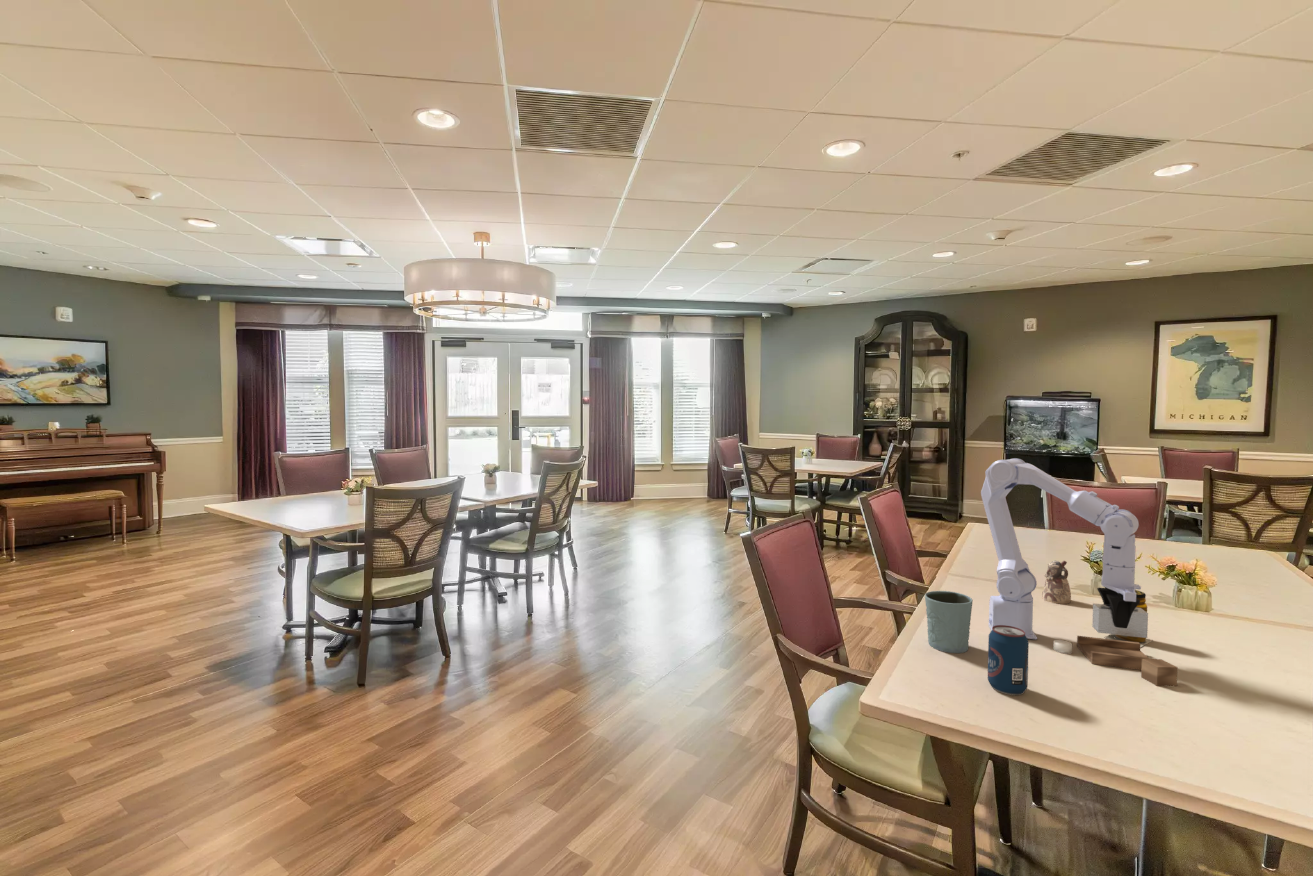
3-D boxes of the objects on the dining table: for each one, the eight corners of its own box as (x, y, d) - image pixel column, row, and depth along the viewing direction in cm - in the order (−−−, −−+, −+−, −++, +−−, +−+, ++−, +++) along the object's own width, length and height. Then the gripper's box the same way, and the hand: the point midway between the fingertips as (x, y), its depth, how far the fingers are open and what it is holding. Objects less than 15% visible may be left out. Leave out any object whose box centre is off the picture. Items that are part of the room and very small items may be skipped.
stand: (1092, 663, 131) (1092, 652, 131) (1077, 645, 141) (1077, 635, 141) (1159, 672, 127) (1159, 660, 127) (1138, 653, 137) (1138, 642, 137)
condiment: (1152, 641, 145) (1154, 592, 144) (1140, 648, 140) (1141, 598, 140) (1117, 632, 151) (1118, 585, 150) (1103, 638, 146) (1105, 590, 146)
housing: (1147, 638, 130) (1148, 612, 130) (1098, 632, 134) (1099, 607, 133) (1139, 631, 134) (1140, 606, 134) (1092, 626, 137) (1093, 602, 137)
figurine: (1037, 596, 181) (1038, 557, 180) (1062, 597, 180) (1063, 558, 179) (1049, 603, 173) (1050, 563, 173) (1075, 604, 172) (1077, 564, 172)
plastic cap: (1055, 653, 138) (1055, 644, 138) (1051, 647, 141) (1051, 639, 141) (1074, 655, 136) (1074, 646, 136) (1069, 649, 140) (1069, 641, 140)
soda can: (980, 680, 123) (982, 623, 122) (1014, 681, 123) (1016, 624, 122) (999, 696, 116) (1000, 636, 115) (1035, 697, 116) (1036, 636, 115)
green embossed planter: (976, 646, 141) (977, 596, 141) (964, 658, 134) (965, 606, 133) (932, 635, 148) (933, 588, 148) (917, 646, 141) (918, 597, 140)
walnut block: (1156, 686, 121) (1157, 667, 120) (1141, 677, 125) (1141, 659, 124) (1176, 686, 120) (1177, 667, 120) (1160, 678, 124) (1161, 659, 124)
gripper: (1154, 574, 125) (1152, 637, 126) (1127, 558, 139) (1126, 616, 139) (1114, 571, 128) (1112, 633, 128) (1091, 556, 141) (1090, 612, 142)
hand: (1117, 624), depth 134 cm, fingers closed on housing, 4 cm apart
